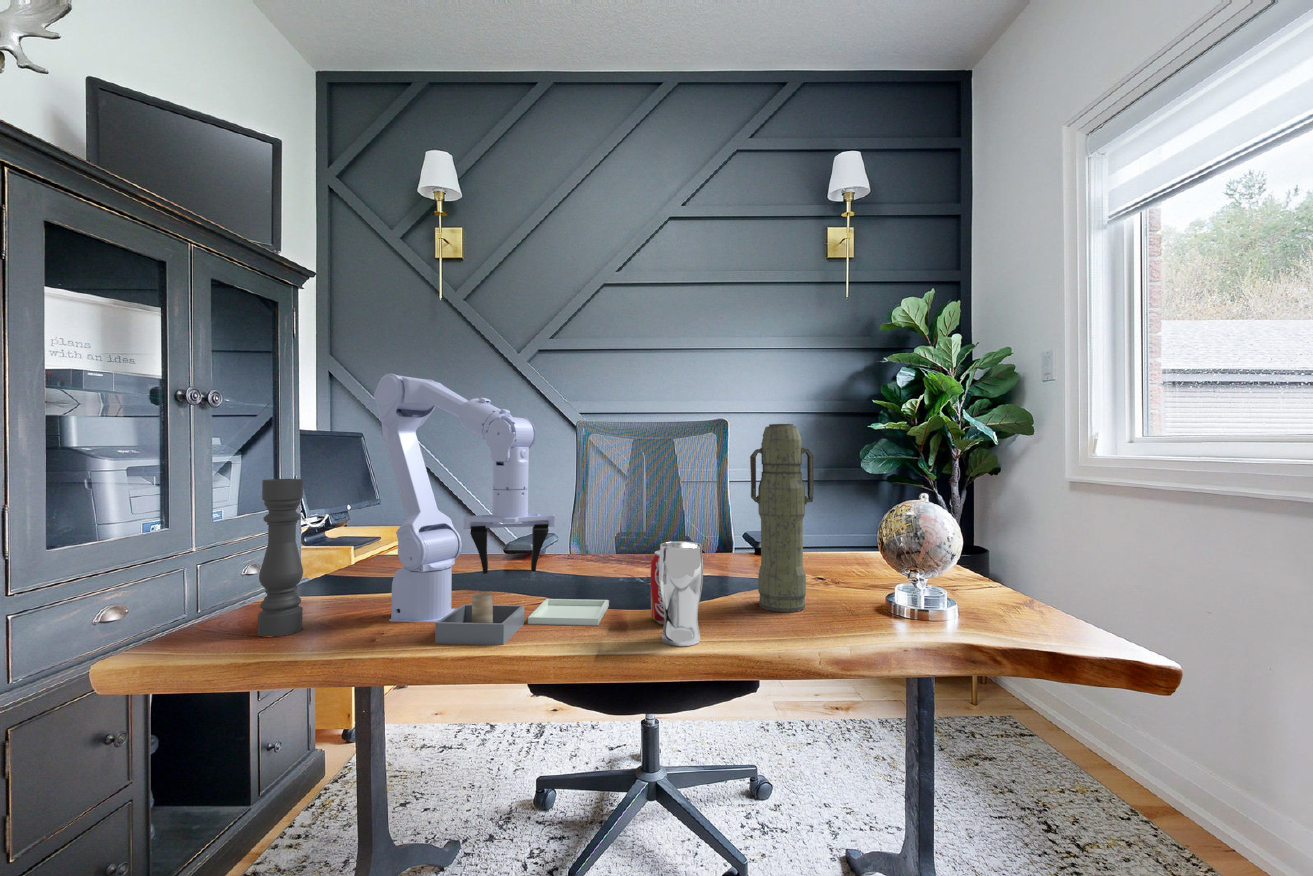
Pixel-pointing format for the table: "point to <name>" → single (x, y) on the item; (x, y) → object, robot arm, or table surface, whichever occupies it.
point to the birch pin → (482, 608)
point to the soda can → (656, 591)
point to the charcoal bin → (479, 626)
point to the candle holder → (281, 559)
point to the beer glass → (680, 591)
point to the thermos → (781, 517)
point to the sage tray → (569, 612)
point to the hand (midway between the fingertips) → (509, 571)
